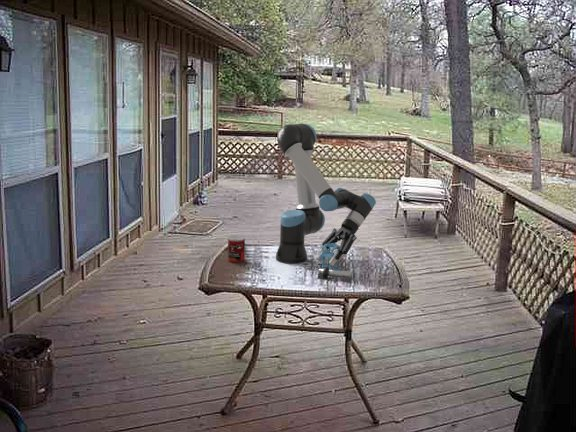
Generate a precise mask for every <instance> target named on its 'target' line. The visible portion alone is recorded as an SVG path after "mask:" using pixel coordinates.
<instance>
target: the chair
mask: <svg viewBox="0 0 576 432" xmlns="http://www.w3.org/2000/svg"><path fill="white" fill-rule="evenodd" d="M326 246H327V247H329V249H328V250H329V251H328V252H327V253H325V254H324V248H325V247H326ZM339 248H340V246H339V244H337V243H329V244H325V245H324V246H323V245H322V247H321V250H322V251H323V253H322V254H321V257H322V261H321V268H323V269H324V267H329V269H331V270H340V271H343V270H342V269H343V267H340V266H338V265H337V266H336V265H333V266H331V265H330V263H328V264H325V260H326V259H325V258H328V259H330V260H331V259H332V257H333V256H334V254H335V253H336V252H335V250H336V251H338V250H339ZM334 252H335V253H334ZM338 252H339V251H338Z"/></svg>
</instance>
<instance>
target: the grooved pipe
mask: <svg viewBox="0 0 576 432" xmlns="http://www.w3.org/2000/svg"><path fill="white" fill-rule="evenodd" d="M331 269H332V268H330V269H329V267H324V269H323V268H322V267H321V268H319V269H318V273H317V279H318V280H319V279H320V280H323V279H325V278H327V279H328V277H334V278H340V279H342V278H344V282H345V283H351V281H352V280H353V274H352V271H347V270H331Z"/></svg>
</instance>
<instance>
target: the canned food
mask: <svg viewBox="0 0 576 432" xmlns="http://www.w3.org/2000/svg"><path fill="white" fill-rule="evenodd" d="M227 239H228V240H227V259H228V260H227V261H228V262H230V263H242V262H244V261H245V251H246V250H245V248H246V247H245V245H246V243H245V241H246V238H245V237H244V236H239V235H238V236H237V235H235V236H234V235H233V236H230V237H228V238H227Z"/></svg>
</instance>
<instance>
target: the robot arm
mask: <svg viewBox="0 0 576 432" xmlns="http://www.w3.org/2000/svg"><path fill="white" fill-rule="evenodd" d="M317 137H318V135H317V132H316V130H315V129H314V127H313V126H312V125H310V124H308V123H293V124H289V123H288V124H285V125H283V126H281V127H280V129H279V130H278V132H277V136H276V140H277V144H278V147H279V149H280V151H281V153H283V155H284V156H285V157H287V158H289V159H290V161H291V162H292V164H293V165H294V173H295V182H296V194H297V203H298V204H297V205H296V207H295V209H291V210H286V211H283V212H282V213H281V216H280V221H279V223H280V230H279V231H280V235H279V246H278V247H277V251H276V254H275V259H276V261H278V262H280V263H283V264H284V263H285V264H303V263H305V262H307V261H308V253H307V251H306V246H305V236H308V235H311V234H315V233H317V232H319V231H320V230H322V229H323V228H324V226H325V222H326V218H325V217H326V216H325V214H324V213H323V211H324V212H334V211H337V210H339V209H345V208H346V209H348V210H350V212H349V213H348V214H347V216H346V217H345V219H344V221H342V223H341V226H340V228H338V229H336V228H333V229H332V230H331V232H330V233H329V234H328V236H327V237H326V238H325V239H324V241H323V242H322V243H321V245H322V247H323V246H324V245H325V244H329V243H335V244H337V243H338V242H340V241H341V242H340V246H339V247H340V248H339V250H338V249H337V250H338V251H339V252H338V251H337V250H336V252H335V254H334V256H333V257H332V259H330V260H329V262H328V264H330V265H331V266H335V264H336V262H337V261H339V260H340V259H341V257H342V256H343V255H345V256H346V255H348V253H349V252H350V249H351V247H352V246H353V244H354V242H355V241H356V240H357V239H358V237H357V235H355V234H356V233H357V232H358V230H359V229H360V228H361V226H362V224H363V223H364V222H365V220H366V219H367V217H368V216H369V214H370V213H371V212H372V211H373V209H374V207H375V205H376V203H377V201H376V199H375V197H374V196H373V195H371V194H369V193H365V192H364V193H363V194H362V195H358V194H356V193H354V192H352V191H350V190H347V189H346V188H342V187H339V188H336V189H335V190H334V189H333V188H332V187H331V186H330V184H329V183H328V181H327V179H326V178H325V177H324V176H323V174H322V173H321V172H320V170H319V169H318V168H317V166H316V164H315V163H314V162H313V159H312V153H313V152H314V151H315V150H314V145H316V142H317ZM316 196H317V198H318V203H317V201H316ZM327 252H329V247H327V246H326V247H325V248H324V254H325V253H327ZM322 253H323V251H322V249H321V250H320V253H319V254H318V256H317V257H316V260H317V261H318V262H320V263H322V257H321V254H322Z"/></svg>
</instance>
